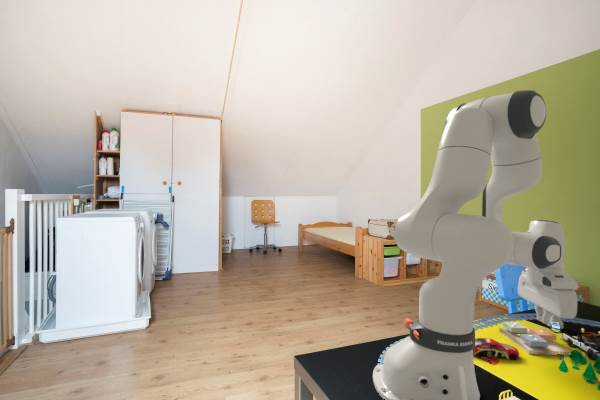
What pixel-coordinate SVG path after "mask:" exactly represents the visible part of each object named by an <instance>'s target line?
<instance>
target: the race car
mask: <svg viewBox="0 0 600 400" xmlns="http://www.w3.org/2000/svg"><path fill="white" fill-rule="evenodd" d="M474 356H475V357H478V358H481V357H484V358H488V357H496V358H495V359H503V360H511V361H512V360H513V361H517V359H519V358H520V351H519V350H518V348H516V347H515V346H513V345H510V344H507V343H502V342H499V341H496V340H495V339H493V338H486V337H475V353H474V354H473V357H474Z"/></svg>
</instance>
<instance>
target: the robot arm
mask: <svg viewBox="0 0 600 400" xmlns="http://www.w3.org/2000/svg"><path fill="white" fill-rule="evenodd" d="M546 119H547V107H546V102H545V100H544V98H543V96H542V95H540V93H538V92H536V90H532V89H531V90H530V89H528V90H527V89H525V90H524V89H523V90H516V91H514V92H510V93H502V94H498V95H493V96H486V97H482V98H479V99H475V100H472V101H470V102H467V103H465V102H464V103H462V104H459V105H456V106H455V107H453V108H452V109H451V110H450V111H449V112H448V114H447V116H446V119H445V126H444V128H443V132H442V133H441V134H442V135H441V136H440V137H441V138H440V141H439V144H438V148H437V153H436V157H435V158H436V159H435V163H434V167H433V170H432V173H431V174H432V175H431V178H430V181H429V184H428V186H427V189H426V190H425V192H424V194H423V195H422V197H421V198H420V199H419V201H418V202H417V204H415V206H414V207H413V208H412V209H411V210H409V211H407V212H406V213H404V214H403V215H401V216H400V217H399V218H398V220H397V222H396V224H395V227H394V240H395V243H396V245H397V247H398V248H399V249H400V250H402V251H403V252H405V253H408V254H409V255H412V256H413V257H414V256H415V257H416V258H420V259H425V260H431V261H434V262H440V263H441V268H440V273H439V275H438V276H436V277H433V278H430V279H428V280H426V281H425V282H424V283H423V284H422V285H421V287H420V289H419V293H418V295H419V297H418V298H419V299H418V301H419V302H418V307H419V308H418V318H417V320H416V321H415V322H413V320H412V319H411V318H408V317H407V318H405V319H404V320H403V325H404V327H405V328H406V330H409V335H408V336H406V337H405V338H403V339H402V340H400V341H399V342H396V343H395V344H393V345H392V346H390V347H389V348H387V350H386V352H385V354H384V358H383V362H382V364H377V365H375V367H374V369H373V371H372V381H373V385H374V388H375V390H376V392H377V394H378V393H379V394H378V395H379V396H380V397H381V398H382V400H384V399H385V400H480V398H481V394H480V390H479V387H478V382H477V378H476V377H477V376H476V372H475V371H476V370H475V361H474V355H473V354H474V353H475V339H476V329H475V328H474V317H475V316H474V315H475V314H474V313H475V306H476V305H475V304H476V296H477V292H478V290H479V288H480V287H481V284H482V283H483V281H484V280H485V279H486V278H487V277H488V276H489V275H491V273H493V272H495V271H496V270H498V269H500V268H502V267H504V265H506V264H508V265H512V266H518V267H525V268H524V269H523V270H522V271H521V274H520V275H519V277H518V278H519V279H518V285H517V294H518V296H519V297H520V298H522V299H524V300H526V301H528V302H530V303H531V304H534V305H533V307H534V311H535V313H536V320H537V321H539V322H541V323H542V324H543V325H547V324H549V323H550V318H551V316H552V315H553V314H554V315H556V316H558V317H560V318H561V319H568V320H569V319H572V320H573V319H574V318H576V316H577V315H578V314H577V313H578V295H577V292H576V291H575V290H578V288H579V284H578V283H579V282H577V281H576V280H575V279H574V278H572V277H571V276H570V275H569V274H568V273H567V272H566V271H565V264H564V262H563V261H564V259H563V257H564V255H565V252H566V251H565V250H566V249H565V248H566V245H565V234H564V228H563V225H562V224H561V223H559V222H558V221H553V220H545V219H534V220H531V221H530V222H529V226H528V230H527V231H526V232H525V231H524V232H520V231H511V230H510V229H509V227H508V225H507V224H505V222H503V204H504V201H505V200H506V199H508V198H512V197H513V196H517V195H520V194H522V193H524V192H526V191H529V190H531V189H532V188H533V187H534V186H536V185H537V184H538V183H539V181H540V180H541V178H542V176H543V169H544V168H543V158H542V153H541V147H540V143H539V139H538V136H537V133H539V132H540V130H541V129H542V128H543V126H544V125H545V122H546ZM490 162H491V168H492V170H491V175H490V178H489V179H488V174H489V170H490V169H489V168H490ZM487 179H488V180H487ZM480 195H482V196H481V197H482V198H481V199H482V200H481V201H482V205H481V210H482V211H481V214H482V215H480V214H479V215H478V214H466V213H465V214H463V213H459V211H460V209H462V207H463V206H464V205H465V204H466V203H468V202H470V201H471V200H474V199H476V198H478V197H479V196H480Z"/></svg>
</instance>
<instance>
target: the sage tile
mask: <svg viewBox="0 0 600 400" xmlns="http://www.w3.org/2000/svg"><path fill="white" fill-rule="evenodd" d="M502 328H506V329H507V330H509V331H510V332H515V333H527V329H528V327H526V326H524V325H523V324H521V323H520V322H519V321H518V322H517V321H502Z"/></svg>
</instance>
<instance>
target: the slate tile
mask: <svg viewBox="0 0 600 400" xmlns="http://www.w3.org/2000/svg"><path fill="white" fill-rule="evenodd" d="M520 339H521V340H523V341H524V342H525V343H527V344H528V345H529V346H536V347H548V342H547V341H546V340H544V339H543V338H541V337H540V336H538V335H533V334H520Z"/></svg>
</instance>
